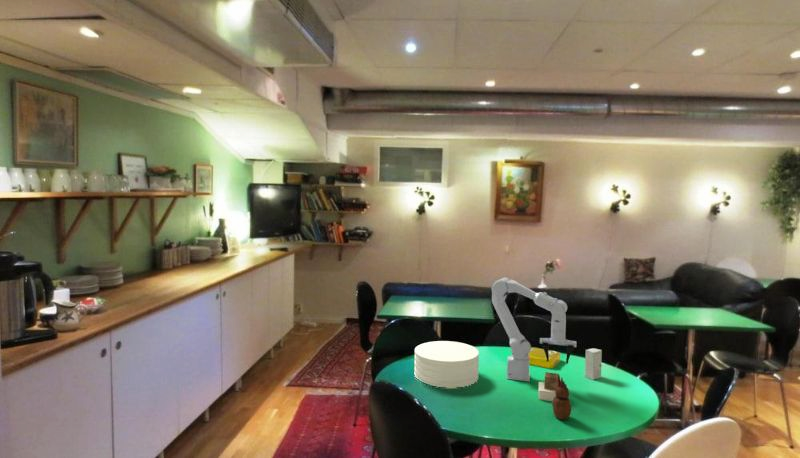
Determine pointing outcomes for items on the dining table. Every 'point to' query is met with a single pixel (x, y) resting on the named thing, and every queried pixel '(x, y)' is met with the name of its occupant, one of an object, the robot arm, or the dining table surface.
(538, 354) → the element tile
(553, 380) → the walnut cube
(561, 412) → the wooden figurine
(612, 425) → the dining table surface
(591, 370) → the skincare box
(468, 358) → the plate stack
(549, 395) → the cream base block
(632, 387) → the dining table surface
